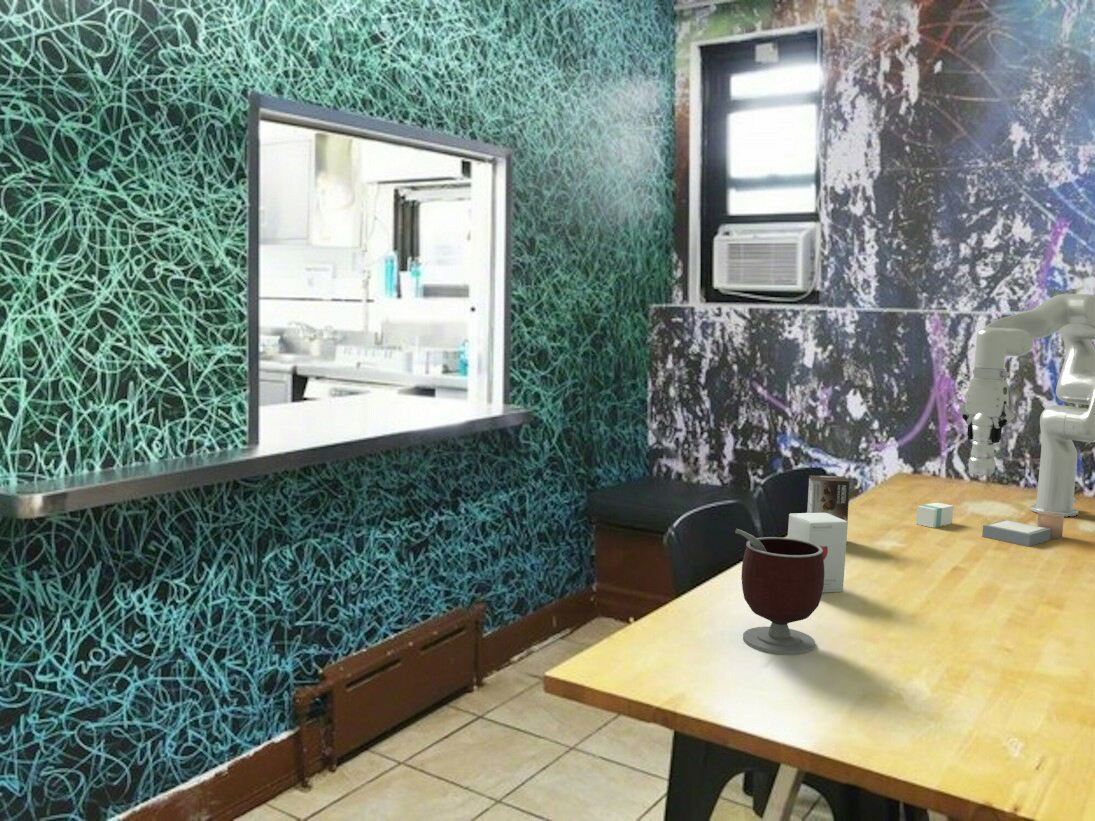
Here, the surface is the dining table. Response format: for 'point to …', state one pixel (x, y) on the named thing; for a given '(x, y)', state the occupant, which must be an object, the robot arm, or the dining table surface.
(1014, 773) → the dining table surface
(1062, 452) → the robot arm
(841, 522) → the supplement box
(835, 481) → the coffee box
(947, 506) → the lying carton
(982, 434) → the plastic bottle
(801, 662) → the dining table surface
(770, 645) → the mate gourd
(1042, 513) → the pink smooth rounded part
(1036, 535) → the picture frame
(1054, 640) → the dining table surface
